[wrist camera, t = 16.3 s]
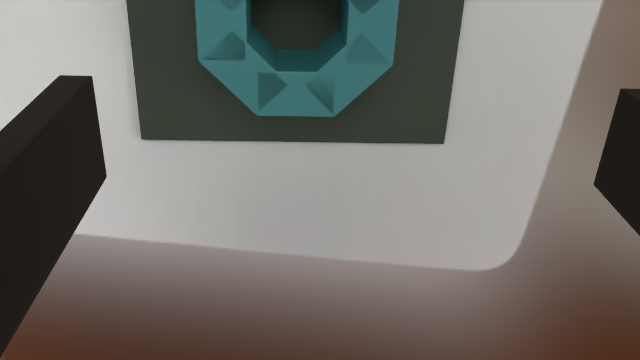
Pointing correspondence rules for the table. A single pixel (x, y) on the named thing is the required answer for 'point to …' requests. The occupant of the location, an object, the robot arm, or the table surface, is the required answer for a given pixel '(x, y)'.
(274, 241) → the table surface
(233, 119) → the mat
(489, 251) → the table surface
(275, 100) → the ring
